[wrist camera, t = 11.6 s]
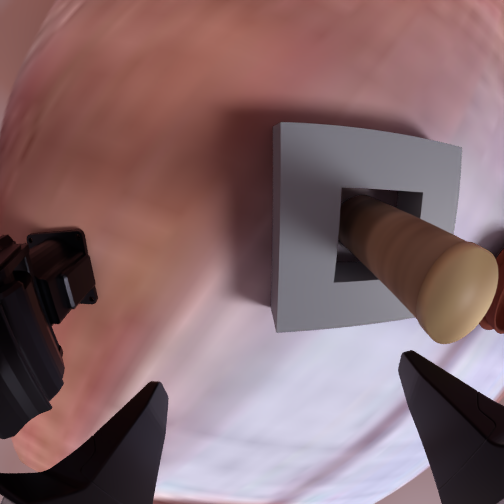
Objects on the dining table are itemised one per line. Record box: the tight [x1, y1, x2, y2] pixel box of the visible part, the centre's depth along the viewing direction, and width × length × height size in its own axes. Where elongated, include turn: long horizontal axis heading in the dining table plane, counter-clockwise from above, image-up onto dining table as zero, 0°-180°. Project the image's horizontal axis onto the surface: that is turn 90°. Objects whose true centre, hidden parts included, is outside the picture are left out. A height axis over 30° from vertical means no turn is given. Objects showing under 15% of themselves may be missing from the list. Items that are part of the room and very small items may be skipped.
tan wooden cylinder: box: [338, 195, 498, 344], centre depth 15 cm, size 5×5×12 cm
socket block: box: [271, 122, 462, 333], centre depth 20 cm, size 14×14×4 cm
